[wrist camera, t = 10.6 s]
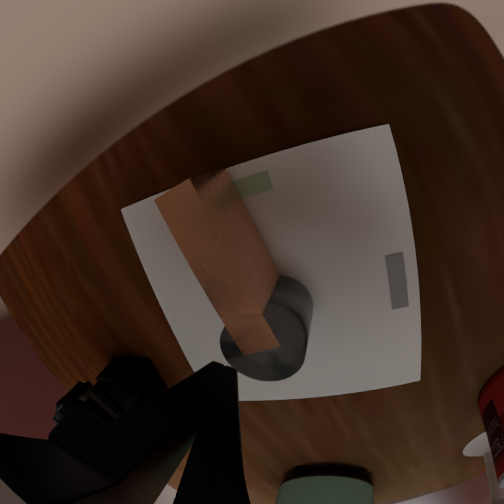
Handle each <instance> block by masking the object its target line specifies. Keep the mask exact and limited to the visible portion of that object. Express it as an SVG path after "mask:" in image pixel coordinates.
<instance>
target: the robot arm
mask: <svg viewBox="0 0 504 504" xmlns="http://www.w3.org/2000/svg"><path fill="white" fill-rule="evenodd" d="M109 362H110V363H109V364H108V365H107V366H106V367H105V369H104V370H103V371H102V372H101V373H100V374H99V375H98V376H97V377H96V380H97V383H96V384H95V385H94V386H92V385H91V383H90V382H89V381H87V382H86V383H83V382H80V381H79V382H78V383H77V384H76V385H75V386H74V387H73V388H72V389H71V390H70V391H69V392H68V393H67V394H66V395H65V396H64V397H62V398H61V399H60V400H59V401H58V402H57V403H56V404H55V405H56V412H55V416H54V417H53V419H52V420H53V421H54V422H55V423H56V424H57V425H56V426H55V428H54V429H53V430H52V431H51V432H50V433H49V437H48V440H46V439H36V438H28V437H21V436H14V435H8V434H3V433H0V504H154V503H155V501H156V500H157V498H158V496H159V495H160V494H161V492H162V490H163V489H164V487H165V486H166V484H167V483H168V481H169V480H170V478H171V477H172V475H173V473H174V472H175V470H176V469H177V467H178V466H179V464H180V462H181V461H182V459H183V458H184V456H185V454H186V453H187V451H188V450H189V448H190V446H191V445H192V443H193V445H192V448H191V451H190V454H189V457H188V460H187V463H186V466H185V469H184V472H183V475H182V478H181V481H180V484H179V487H178V490H177V493H176V497H175V499H174V502H173V504H250V500H249V496H248V492H247V487H246V482H245V477H244V470H243V459H242V452H241V451H242V445H241V428H240V410H239V391H238V371H237V369H236V368H234V367H231V366H228V365H226V366H225V365H224V364H222V363H219V362H216V361H212V362H210V363H208V364H207V365H205V366H204V367H202V368H201V369H199V370H197V371H196V372H194V373H193V374H191V375H189V376H188V377H186V378H185V379H183V380H181V381H180V382H178V383H176V384H175V385H173V386H172V387H170V388H168V389H167V388H166V387H165V385H164V384H163V382H162V380H161V379H160V377H159V375H158V374H157V372H156V371H155V369H154V367H153V365H152V364H151V362H150V361H149V359H147V358H143V357H111V358H110V359H109Z"/></svg>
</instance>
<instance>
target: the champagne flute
mask: <svg viewBox="0 0 504 504" xmlns="http://www.w3.org/2000/svg"><path fill="white" fill-rule="evenodd" d="M463 455H465V456H484V460H485V465H486V470H487V474H488V480H489V486H490V492H491V500H492V503H491V504H504V499H501V498H500V492H499V485H498V481H497V476H496V472H495V467H494V463H493V458H492V454H491V450H490V446H489V442H488V438H487V434H486V432H484V433H482V434H481V435H479V436H477V437H476V438H474V439H473V440H472V441H471V442H469V443H468V444H467V445H466V446H465V448H464V450H463Z"/></svg>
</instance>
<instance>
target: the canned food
mask: <svg viewBox="0 0 504 504" xmlns="http://www.w3.org/2000/svg"><path fill="white" fill-rule="evenodd" d="M479 411H480V414H481V417H482V420H483V424H484V427H485V431H486V434H487V438H488V442H489V446H490V450H491V454H492V458H493V463H494V467H495V472H496V476H497V481H498V484H499V487H500V488H504V367H503V368H502V369H500V370H499V371H498V372H497V373H496V374H495V375H494V376H493V377H492V378H491V379H490V380H489V381H488V382H487V384H486V385H485V386H484V388H483V390H482V392H481V394H480V397H479Z"/></svg>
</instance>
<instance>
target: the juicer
mask: <svg viewBox="0 0 504 504" xmlns="http://www.w3.org/2000/svg"><path fill="white" fill-rule="evenodd" d="M373 498H374V486H373V484H372V482H371V480H369V479H368V478H366V469H364V468H356V469H354V470H352V472H350V471H344V470H332V469H330V470H311V471H309V468H307V467H304V466H298V467H295V469H294V473H293V475H292V476H290V477H287V478H286V479H285V480H284V481H282V483H281V485H280V488H279V491H278V495H277V499H276V502H275V504H373Z"/></svg>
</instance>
